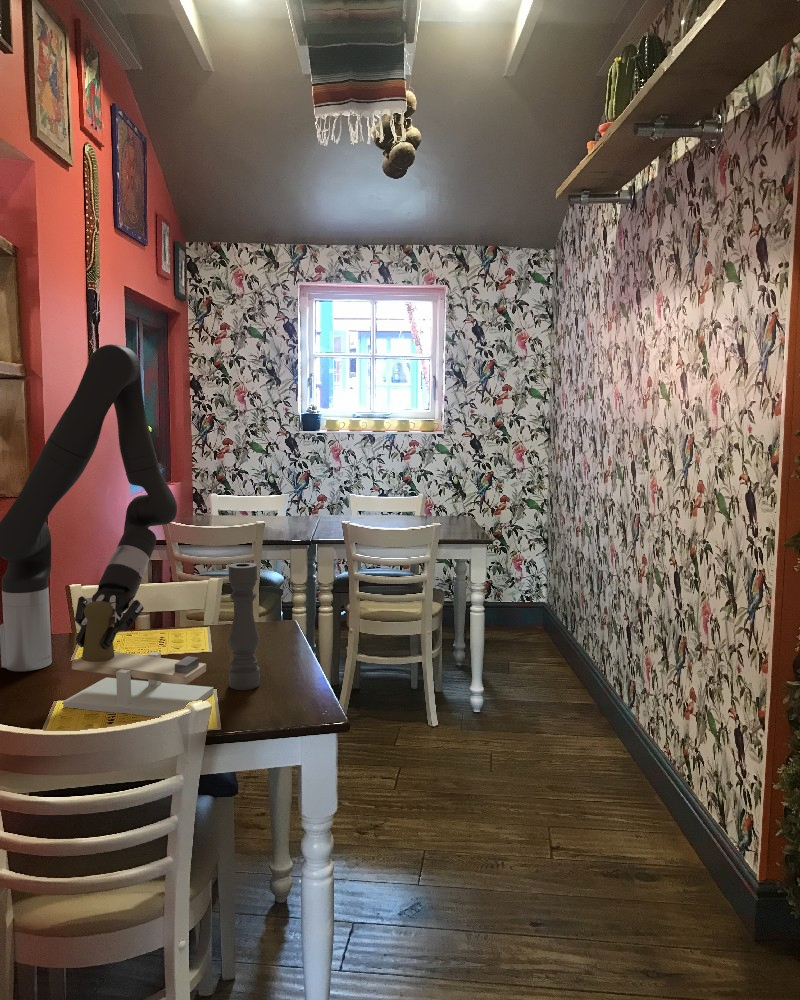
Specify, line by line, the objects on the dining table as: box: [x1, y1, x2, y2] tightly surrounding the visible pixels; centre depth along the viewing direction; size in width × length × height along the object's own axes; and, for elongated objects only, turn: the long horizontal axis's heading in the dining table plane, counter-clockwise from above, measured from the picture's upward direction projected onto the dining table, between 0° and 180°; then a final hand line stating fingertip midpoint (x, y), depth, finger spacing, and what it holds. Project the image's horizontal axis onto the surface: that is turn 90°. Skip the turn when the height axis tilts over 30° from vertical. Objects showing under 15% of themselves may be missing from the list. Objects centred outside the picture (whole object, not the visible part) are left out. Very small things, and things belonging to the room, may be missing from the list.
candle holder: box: [228, 562, 261, 691], centre depth 162 cm, size 6×6×25 cm
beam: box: [71, 651, 207, 685], centre depth 154 cm, size 24×8×4 cm, turn 77°
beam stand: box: [62, 651, 214, 718], centre depth 154 cm, size 24×14×8 cm, turn 77°
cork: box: [81, 601, 115, 662], centre depth 155 cm, size 6×6×11 cm
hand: (92, 646), depth 154 cm, fingers open, 4 cm apart
